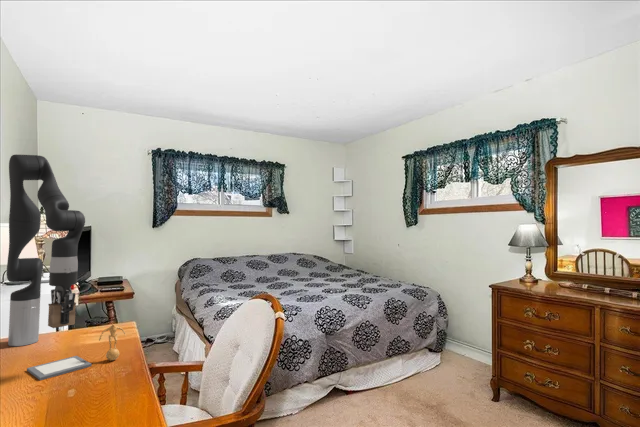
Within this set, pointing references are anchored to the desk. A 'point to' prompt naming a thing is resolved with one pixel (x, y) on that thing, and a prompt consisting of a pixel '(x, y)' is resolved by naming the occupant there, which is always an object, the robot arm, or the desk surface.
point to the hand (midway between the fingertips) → (61, 322)
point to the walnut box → (59, 315)
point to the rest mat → (58, 367)
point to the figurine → (114, 352)
